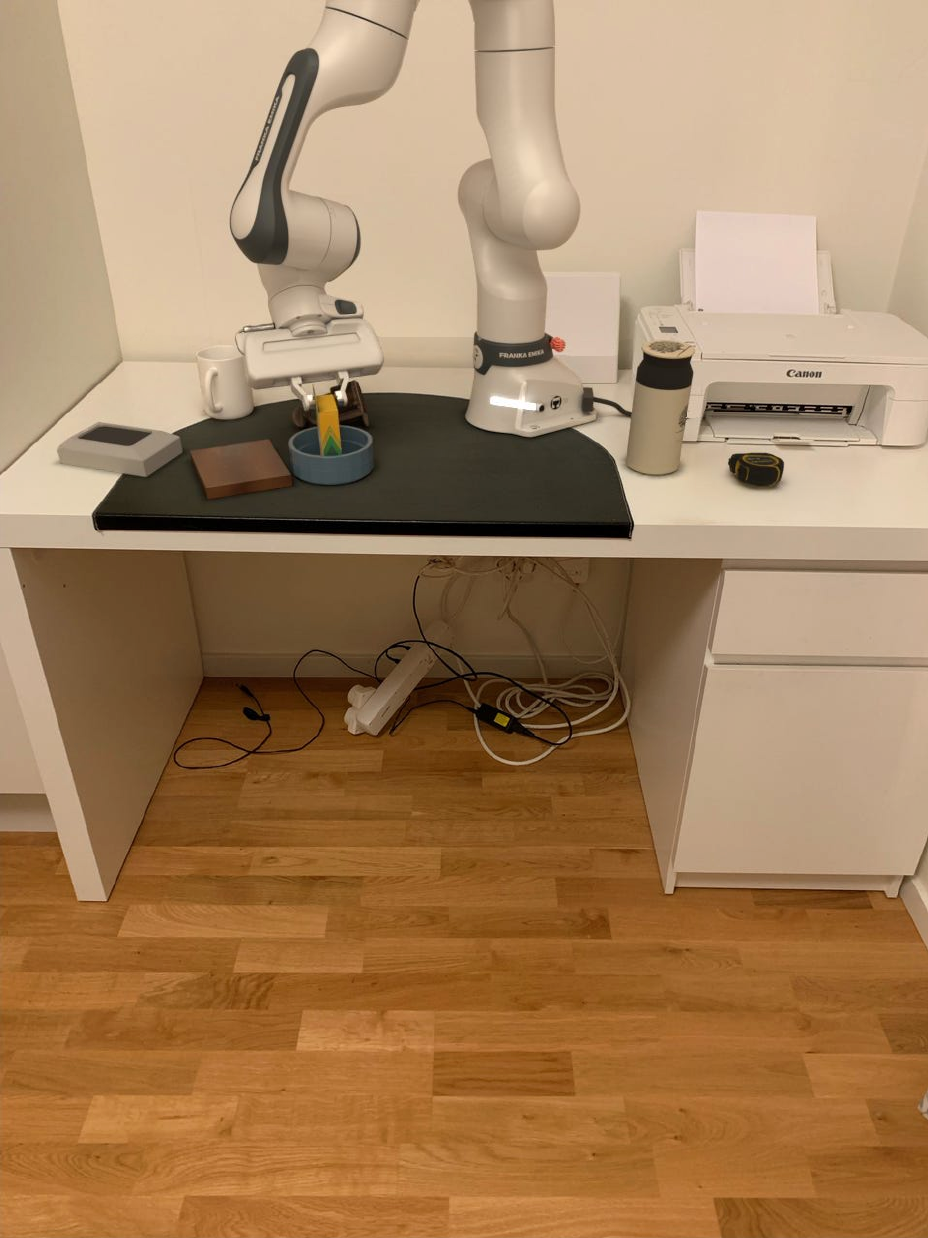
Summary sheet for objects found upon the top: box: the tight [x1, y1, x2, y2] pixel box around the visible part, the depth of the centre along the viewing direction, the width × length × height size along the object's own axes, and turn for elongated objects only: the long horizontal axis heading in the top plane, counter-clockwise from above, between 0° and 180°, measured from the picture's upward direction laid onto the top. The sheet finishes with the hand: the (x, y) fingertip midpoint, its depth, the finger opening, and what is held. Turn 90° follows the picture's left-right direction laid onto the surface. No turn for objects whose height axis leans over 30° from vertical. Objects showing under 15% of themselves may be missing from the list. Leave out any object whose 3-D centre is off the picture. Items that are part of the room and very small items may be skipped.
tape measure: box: [727, 452, 785, 487], centre depth 128 cm, size 7×7×4 cm
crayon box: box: [311, 383, 342, 456], centre depth 127 cm, size 7×3×12 cm, turn 13°
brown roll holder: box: [291, 379, 370, 429], centre depth 144 cm, size 7×13×10 cm
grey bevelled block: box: [56, 421, 183, 478], centre depth 132 cm, size 10×4×15 cm
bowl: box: [288, 424, 375, 486], centre depth 130 cm, size 12×12×4 cm
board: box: [189, 439, 293, 500], centre depth 129 cm, size 12×14×2 cm
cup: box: [195, 344, 255, 420], centre depth 146 cm, size 8×12×10 cm
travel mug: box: [625, 339, 696, 476], centre depth 128 cm, size 8×8×18 cm
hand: (326, 406), depth 126 cm, fingers closed on crayon box, 3 cm apart
